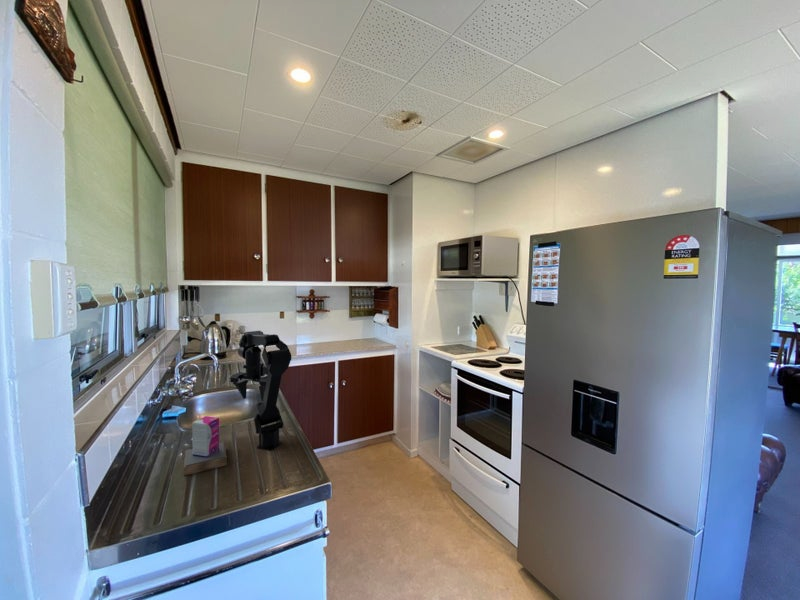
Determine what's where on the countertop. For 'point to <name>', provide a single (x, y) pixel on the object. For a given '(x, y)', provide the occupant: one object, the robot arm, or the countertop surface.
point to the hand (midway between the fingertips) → (253, 399)
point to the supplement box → (205, 436)
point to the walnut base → (204, 460)
